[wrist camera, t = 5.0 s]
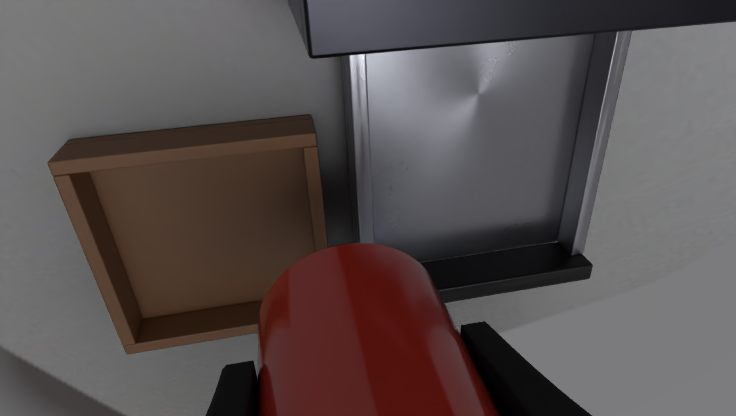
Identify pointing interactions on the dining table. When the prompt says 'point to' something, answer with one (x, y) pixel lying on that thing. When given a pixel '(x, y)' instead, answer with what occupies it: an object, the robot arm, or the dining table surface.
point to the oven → (483, 21)
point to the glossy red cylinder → (363, 341)
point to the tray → (193, 223)
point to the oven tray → (483, 156)
